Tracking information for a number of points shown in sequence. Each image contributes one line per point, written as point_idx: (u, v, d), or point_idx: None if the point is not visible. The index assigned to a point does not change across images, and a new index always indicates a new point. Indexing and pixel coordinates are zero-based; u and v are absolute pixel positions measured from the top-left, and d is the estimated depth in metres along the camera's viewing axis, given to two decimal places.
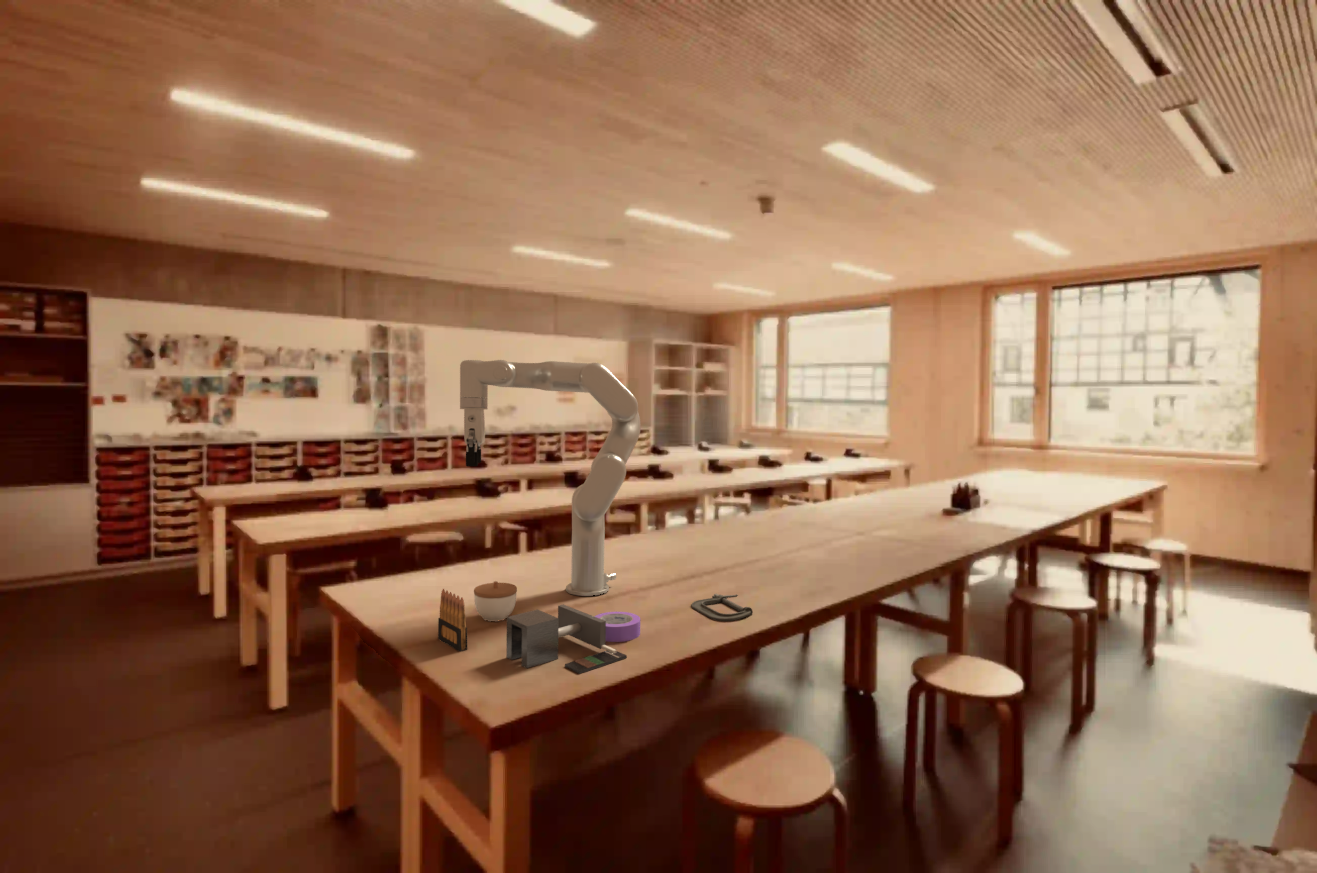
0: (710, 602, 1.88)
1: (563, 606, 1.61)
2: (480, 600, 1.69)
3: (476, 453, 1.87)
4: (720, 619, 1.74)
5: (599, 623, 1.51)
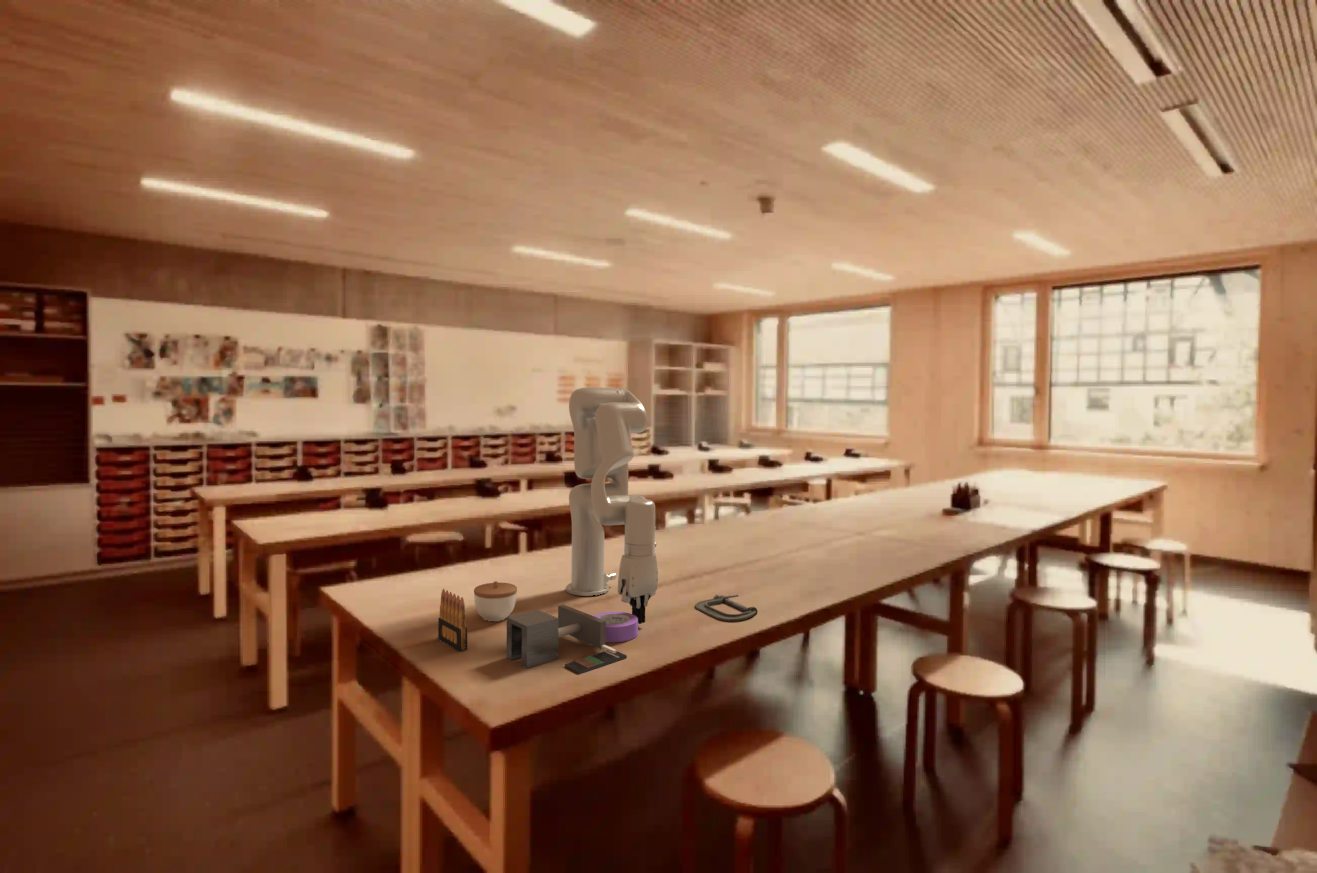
0: (713, 603, 1.88)
1: (563, 606, 1.61)
2: (480, 600, 1.69)
3: None
4: (727, 620, 1.74)
5: (599, 623, 1.51)
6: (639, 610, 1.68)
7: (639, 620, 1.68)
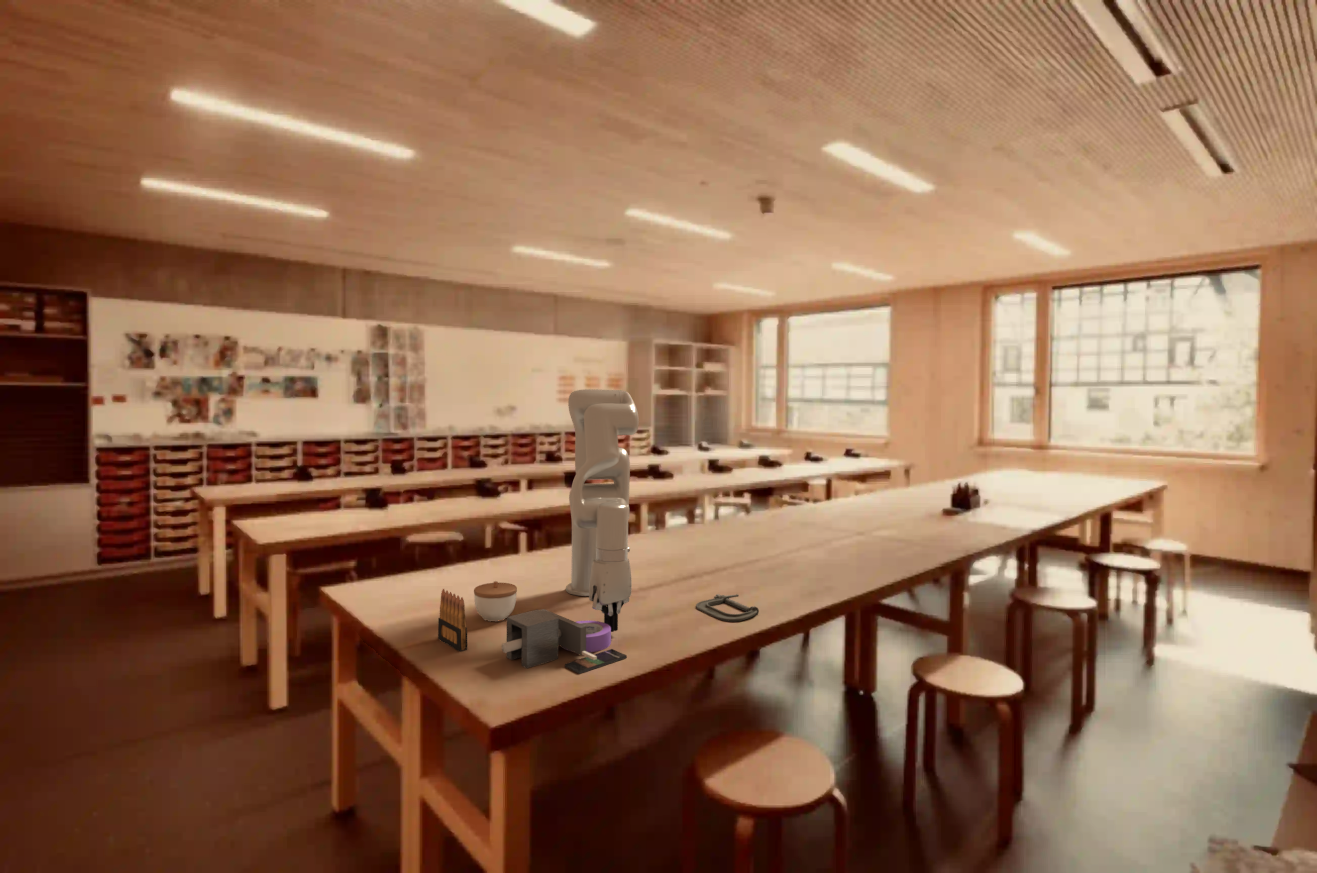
0: (714, 603, 1.88)
1: (544, 611, 1.57)
2: (480, 600, 1.69)
3: None
4: (729, 620, 1.74)
5: (579, 629, 1.47)
6: (611, 618, 1.61)
7: (611, 628, 1.61)
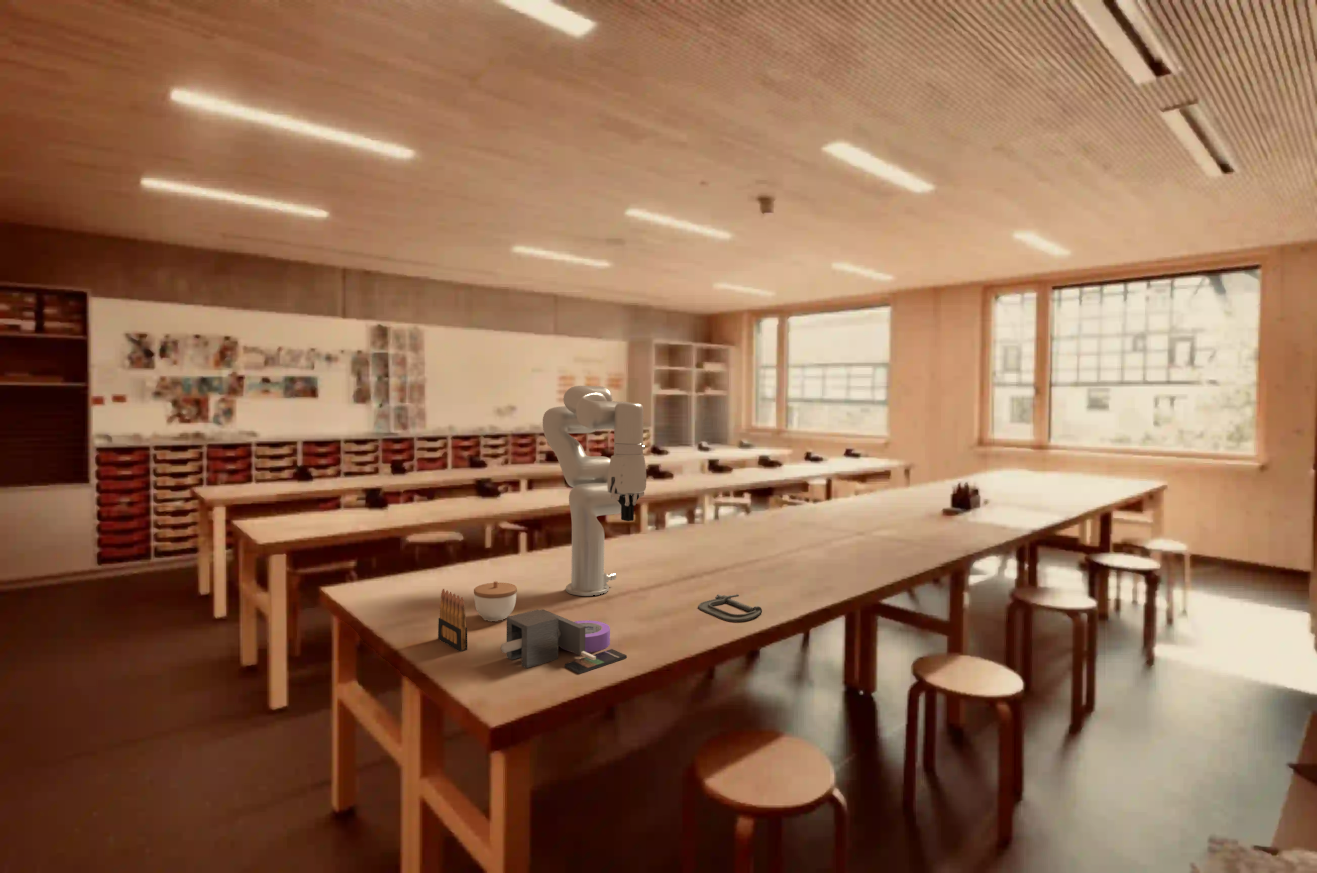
0: (716, 603, 1.88)
1: (543, 611, 1.57)
2: (480, 600, 1.69)
3: None
4: (734, 620, 1.74)
5: (578, 629, 1.47)
6: (628, 508, 1.75)
7: (628, 517, 1.76)
